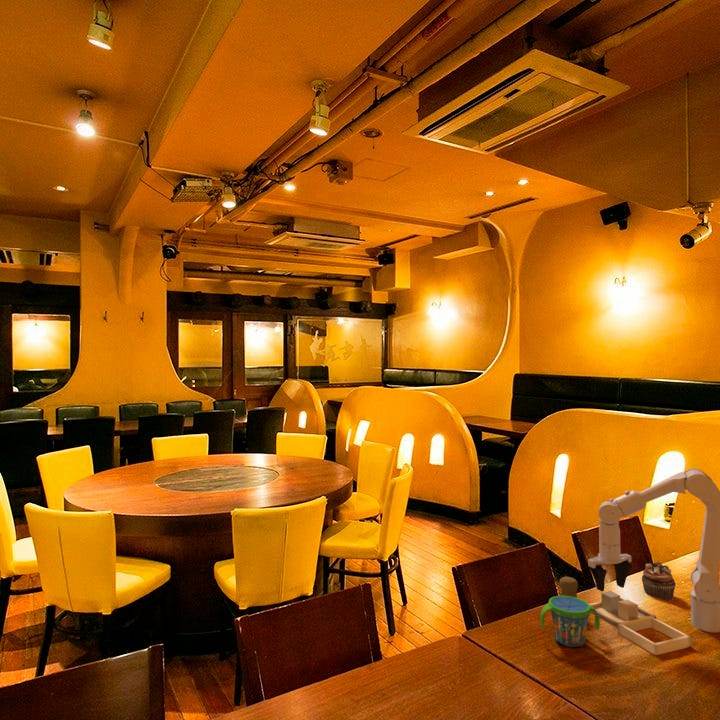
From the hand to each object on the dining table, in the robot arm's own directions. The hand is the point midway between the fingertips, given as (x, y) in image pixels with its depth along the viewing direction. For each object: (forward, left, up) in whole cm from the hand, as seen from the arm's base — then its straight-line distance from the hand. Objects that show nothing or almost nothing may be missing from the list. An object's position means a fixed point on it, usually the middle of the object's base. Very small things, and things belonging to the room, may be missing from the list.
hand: (610, 588), depth 159 cm
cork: (+13, -3, -8) cm, 15 cm away
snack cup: (+23, +9, -8) cm, 26 cm away
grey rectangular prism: (0, 0, -6) cm, 6 cm away
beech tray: (0, +3, -7) cm, 8 cm away
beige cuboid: (0, +6, -6) cm, 9 cm away
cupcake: (-23, -4, -8) cm, 25 cm away
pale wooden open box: (+3, +18, -7) cm, 19 cm away
